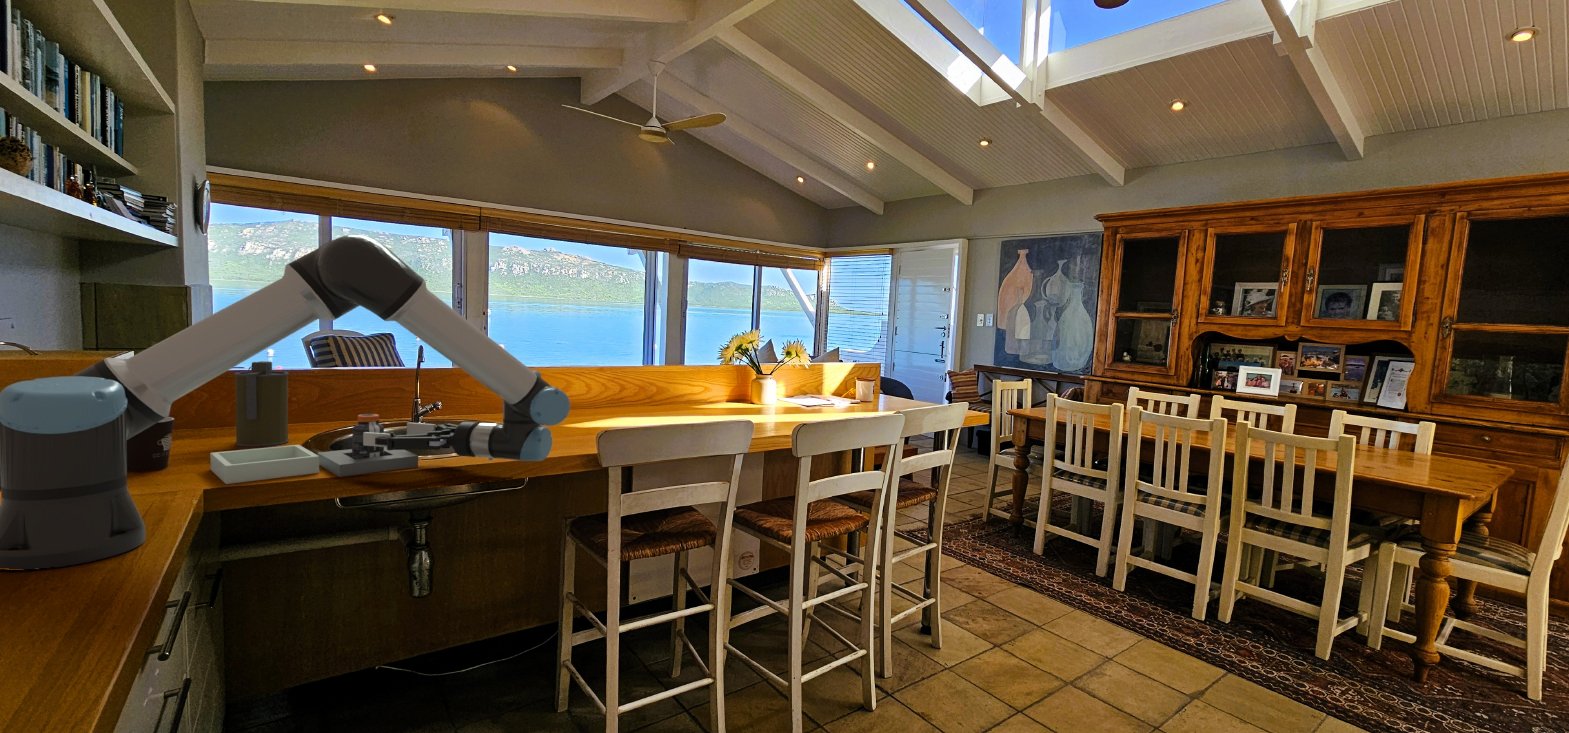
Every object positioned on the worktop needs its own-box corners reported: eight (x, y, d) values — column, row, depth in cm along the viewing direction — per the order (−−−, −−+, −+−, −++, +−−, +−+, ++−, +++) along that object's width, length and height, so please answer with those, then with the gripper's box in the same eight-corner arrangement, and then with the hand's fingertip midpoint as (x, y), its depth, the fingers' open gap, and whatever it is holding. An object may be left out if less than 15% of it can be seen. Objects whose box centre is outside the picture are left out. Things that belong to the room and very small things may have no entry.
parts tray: (319, 472, 137) (319, 456, 137) (226, 484, 126) (225, 466, 126) (298, 460, 147) (298, 444, 147) (210, 469, 136) (210, 452, 135)
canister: (247, 439, 166) (246, 359, 164) (296, 438, 169) (295, 361, 168) (225, 447, 156) (224, 363, 154) (277, 447, 159) (277, 364, 157)
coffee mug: (138, 475, 129) (137, 424, 128) (104, 471, 130) (102, 421, 130) (201, 463, 140) (201, 416, 139) (169, 459, 142) (168, 413, 141)
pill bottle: (386, 466, 145) (386, 415, 144) (354, 469, 141) (354, 417, 140) (381, 461, 150) (381, 412, 149) (350, 464, 146) (350, 413, 145)
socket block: (418, 466, 146) (418, 455, 146) (339, 476, 135) (339, 464, 135) (392, 455, 156) (392, 444, 156) (317, 463, 145) (317, 452, 144)
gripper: (442, 469, 131) (343, 461, 133) (508, 446, 156) (423, 440, 158) (443, 432, 130) (343, 425, 132) (508, 414, 155) (424, 409, 157)
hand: (387, 433), depth 145 cm, fingers open, 13 cm apart
